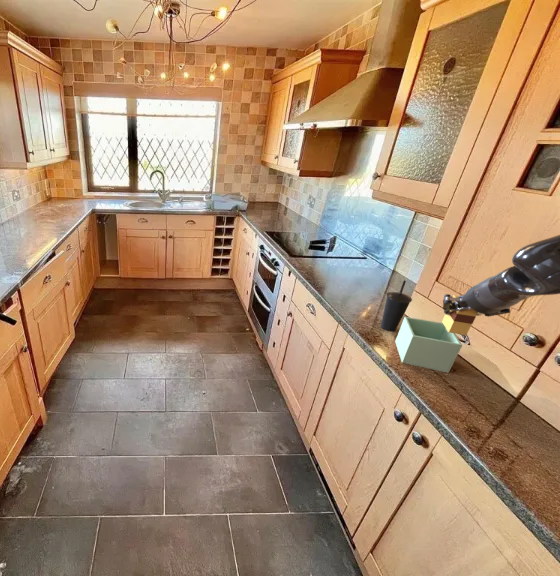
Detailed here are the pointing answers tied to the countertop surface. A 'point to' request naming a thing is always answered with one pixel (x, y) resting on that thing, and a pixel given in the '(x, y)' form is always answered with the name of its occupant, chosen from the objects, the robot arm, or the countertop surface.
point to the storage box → (427, 344)
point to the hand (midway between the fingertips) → (456, 313)
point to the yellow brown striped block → (459, 321)
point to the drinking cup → (394, 309)
